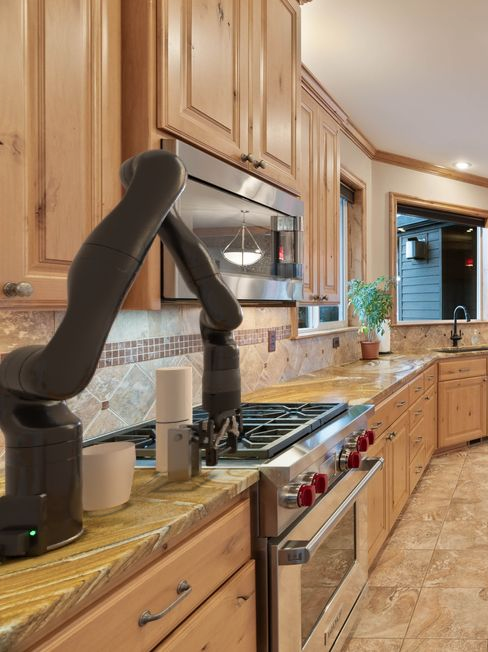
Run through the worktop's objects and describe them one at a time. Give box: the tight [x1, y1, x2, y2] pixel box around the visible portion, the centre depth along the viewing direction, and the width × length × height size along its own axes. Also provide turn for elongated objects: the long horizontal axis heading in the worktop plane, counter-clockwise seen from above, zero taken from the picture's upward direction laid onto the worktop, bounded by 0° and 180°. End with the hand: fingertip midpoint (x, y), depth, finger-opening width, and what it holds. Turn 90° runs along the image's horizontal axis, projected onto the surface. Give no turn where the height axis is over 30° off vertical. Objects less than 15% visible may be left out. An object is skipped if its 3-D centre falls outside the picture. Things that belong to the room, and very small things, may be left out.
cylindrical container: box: [155, 365, 193, 473], centre depth 112 cm, size 7×7×25 cm
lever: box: [181, 426, 231, 459], centre depth 105 cm, size 11×6×2 cm, turn 95°
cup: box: [83, 441, 137, 512], centre depth 91 cm, size 9×9×12 cm
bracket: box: [167, 423, 203, 483], centre depth 104 cm, size 8×9×13 cm
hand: (222, 459), depth 105 cm, fingers open, 8 cm apart
